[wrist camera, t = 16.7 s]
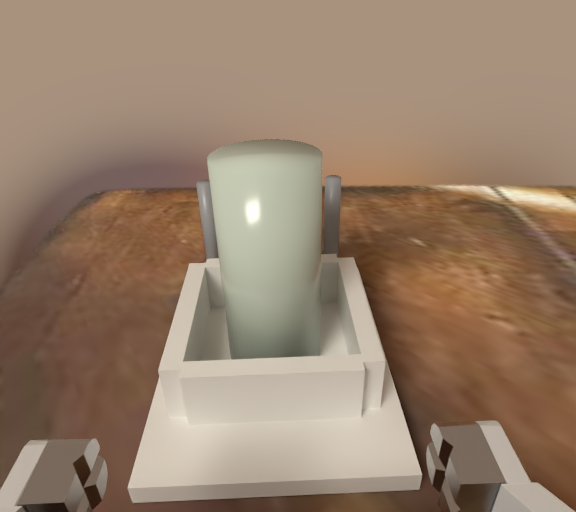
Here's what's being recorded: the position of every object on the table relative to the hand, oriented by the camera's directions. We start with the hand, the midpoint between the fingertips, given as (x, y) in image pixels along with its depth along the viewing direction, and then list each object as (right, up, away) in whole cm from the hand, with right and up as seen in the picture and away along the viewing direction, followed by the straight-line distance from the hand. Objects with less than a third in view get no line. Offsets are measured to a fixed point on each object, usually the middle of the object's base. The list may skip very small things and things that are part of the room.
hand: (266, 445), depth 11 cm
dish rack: (0, -1, +15) cm, 15 cm away
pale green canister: (0, 0, +14) cm, 14 cm away
